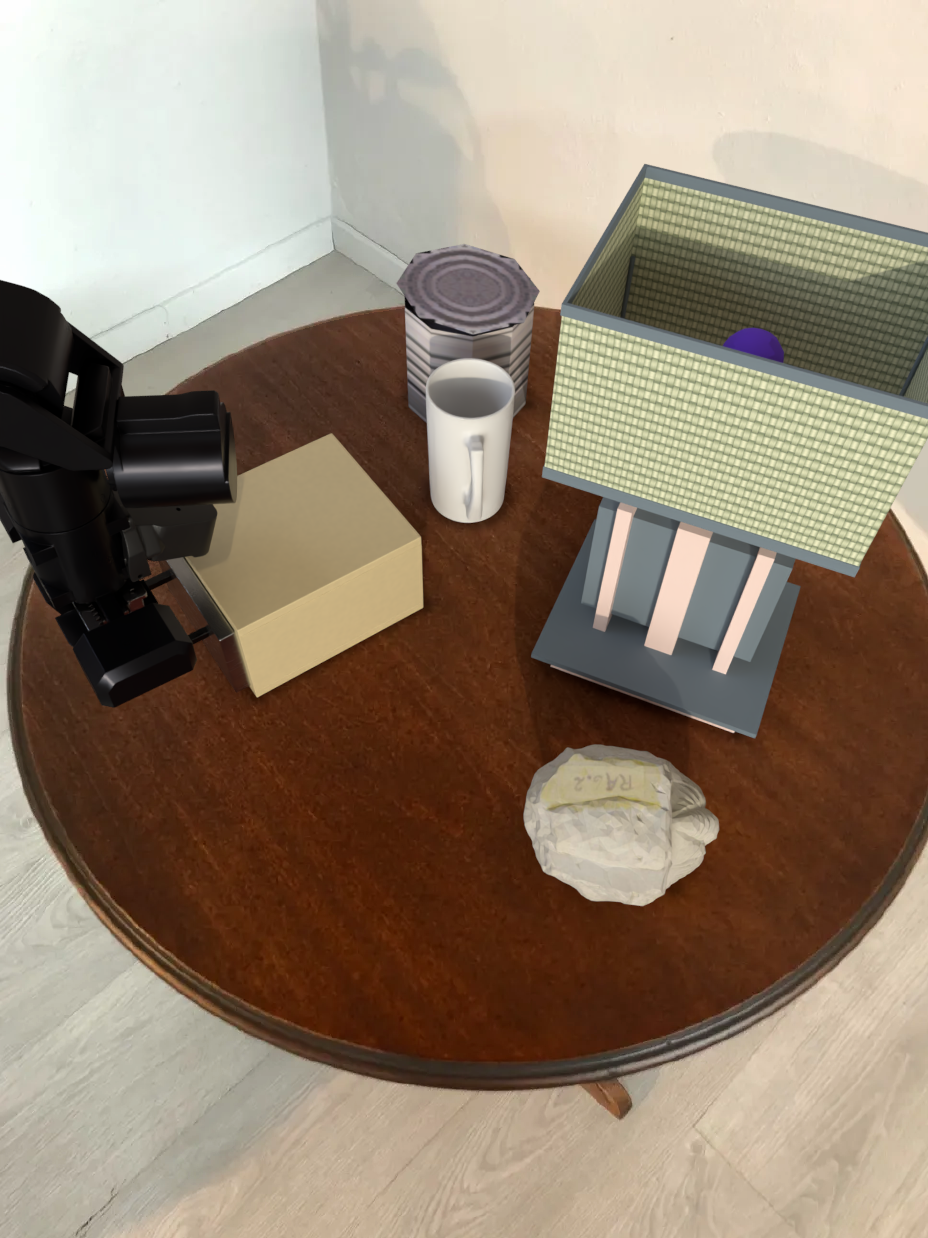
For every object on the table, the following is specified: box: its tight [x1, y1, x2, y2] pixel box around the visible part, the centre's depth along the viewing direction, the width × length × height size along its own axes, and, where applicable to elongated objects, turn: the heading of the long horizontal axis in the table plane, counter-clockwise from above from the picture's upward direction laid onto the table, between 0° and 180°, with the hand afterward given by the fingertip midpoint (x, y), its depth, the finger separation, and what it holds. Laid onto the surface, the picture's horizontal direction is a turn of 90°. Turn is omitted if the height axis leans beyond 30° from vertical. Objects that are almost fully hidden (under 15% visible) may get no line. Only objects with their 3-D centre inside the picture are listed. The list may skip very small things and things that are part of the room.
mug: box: [426, 358, 515, 524], centre depth 80 cm, size 10×7×12 cm, turn 5°
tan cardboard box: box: [184, 432, 424, 698], centre depth 76 cm, size 15×13×9 cm
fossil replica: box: [523, 743, 720, 907], centre depth 65 cm, size 12×8×10 cm
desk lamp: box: [530, 163, 928, 739], centre depth 65 cm, size 18×14×33 cm
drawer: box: [144, 557, 251, 694], centre depth 75 cm, size 18×11×7 cm, turn 125°
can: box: [395, 243, 540, 424], centre depth 89 cm, size 11×11×12 cm
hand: (118, 651), depth 71 cm, fingers closed, pressing on drawer
